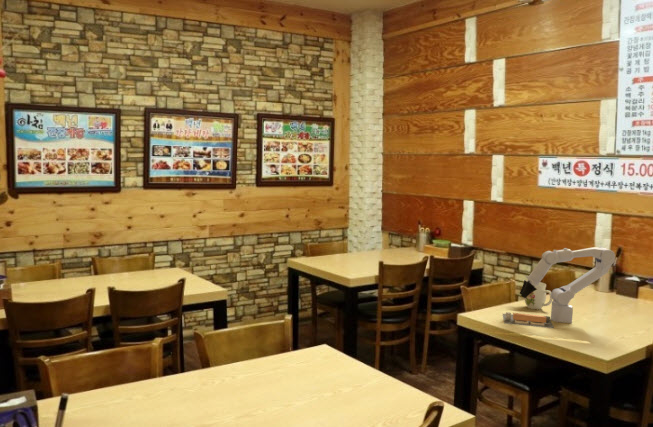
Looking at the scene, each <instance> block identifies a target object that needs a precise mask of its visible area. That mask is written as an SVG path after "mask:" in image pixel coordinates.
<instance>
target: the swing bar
mask: <svg viewBox="0 0 653 427" xmlns="http://www.w3.org/2000/svg"><path fill="white" fill-rule="evenodd" d="M512 315H513V320H523V321H533V322H543V323H550V321H551V316H549V315H540V314H530V313H520V312H519V313H518V312H512Z"/></svg>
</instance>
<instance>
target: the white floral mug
mask: <svg viewBox="0 0 653 427" xmlns="http://www.w3.org/2000/svg"><path fill="white" fill-rule="evenodd" d="M524 280H525V281H528V279H522V281H523V282H524ZM535 288H536V289H537V290H535V291H533V292H532V293H530V294H529V295H528V296H527V297H526V298H524V297H523V298H524V303H525V305H526V307H527V309H530V308H531V309H530V310H535V309H537V310H538V309H539V310H542V308H543V307H548V306H550V305H552V301H553V299H552V297H551V292H552V291H551V290H548V289H546V288H547V284H546V283H544V282H541V281H540V283H539V285H536V286H535ZM547 293H548V294H549V301H547V302H546V300H547Z"/></svg>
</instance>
